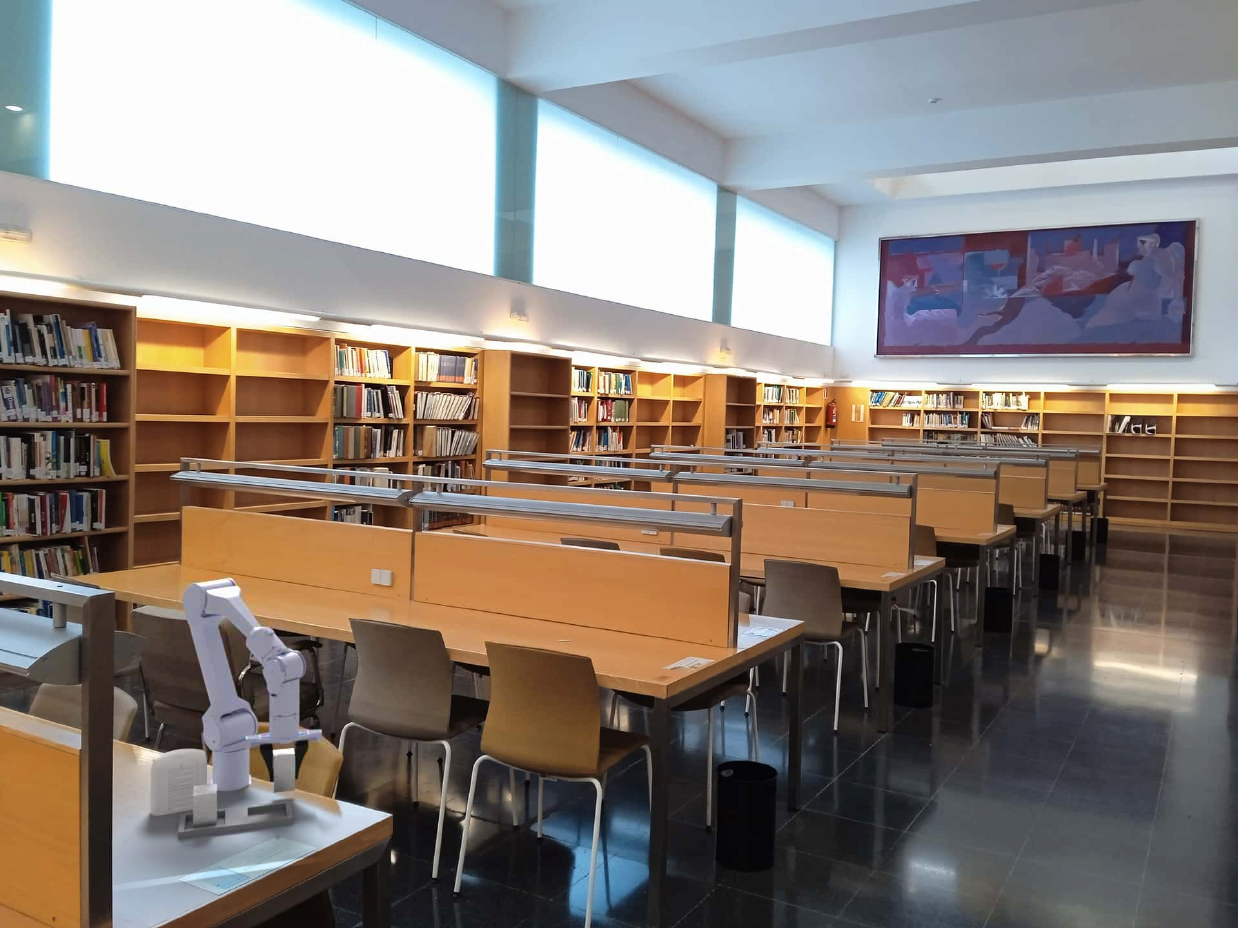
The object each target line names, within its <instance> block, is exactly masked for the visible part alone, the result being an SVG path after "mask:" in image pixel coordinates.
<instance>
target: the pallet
mask: <svg viewBox="0 0 1238 928" xmlns="http://www.w3.org/2000/svg"><path fill="white" fill-rule="evenodd" d="M292 809H293V807H292V801H291V800H285V801H276V802H268V803H261V804H253V805H252V804H251V805H244V806H236V807H229V808H220V809H218V808H217V826H209V827H201V828H193V812H186V813H180V814H179V820H178V821H179V822H178V827H177V829H178V830H177V840H182V839H190V838H196V837H205V836H213V835H214V836H215V835H221V834H229V833H230V834H231V833H235V832H236V833H237V832H245V831H252V830H253V831H254V830H260V829H268V828H275V827H284V826H289V825H294V815H293V810H292Z"/></svg>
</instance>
